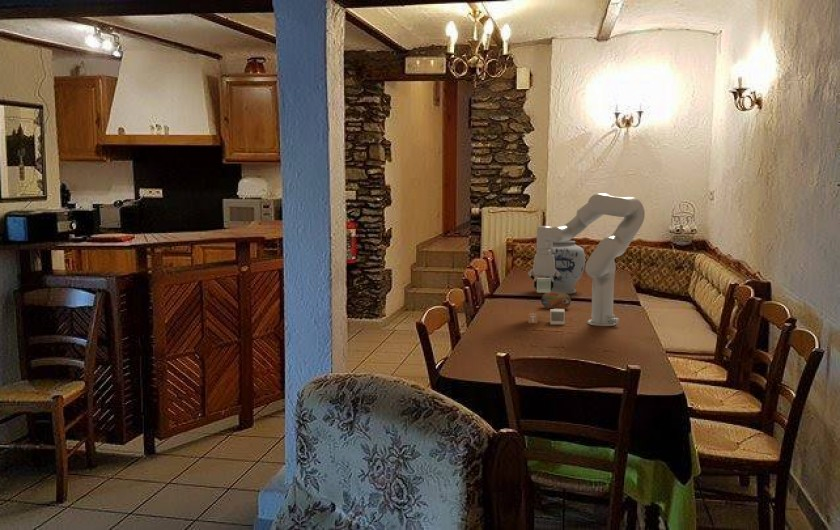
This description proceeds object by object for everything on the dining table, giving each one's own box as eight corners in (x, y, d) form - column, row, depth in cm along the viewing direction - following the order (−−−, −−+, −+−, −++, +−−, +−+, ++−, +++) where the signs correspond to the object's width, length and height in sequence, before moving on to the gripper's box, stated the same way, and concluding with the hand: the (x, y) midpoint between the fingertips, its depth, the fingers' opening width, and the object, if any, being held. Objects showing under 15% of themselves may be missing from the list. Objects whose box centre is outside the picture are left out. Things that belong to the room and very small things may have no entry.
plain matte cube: (550, 290, 355) (550, 278, 354) (550, 292, 348) (550, 280, 348) (536, 290, 356) (537, 277, 355) (536, 292, 350) (536, 279, 349)
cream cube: (564, 321, 343) (564, 309, 342) (564, 324, 336) (564, 311, 336) (550, 321, 344) (550, 308, 343) (550, 324, 337) (550, 311, 337)
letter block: (537, 321, 344) (537, 313, 343) (537, 323, 340) (537, 314, 339) (528, 321, 344) (528, 312, 344) (528, 323, 340) (528, 314, 340)
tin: (540, 307, 379) (541, 291, 378) (542, 306, 382) (543, 290, 381) (569, 310, 372) (569, 293, 371) (571, 309, 375) (571, 292, 374)
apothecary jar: (530, 289, 440) (530, 239, 436) (570, 287, 448) (570, 238, 444) (551, 296, 414) (552, 243, 411) (593, 293, 422) (594, 241, 419)
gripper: (562, 251, 352) (562, 288, 354) (526, 250, 355) (525, 287, 357) (563, 253, 345) (562, 291, 347) (525, 252, 348) (525, 290, 350)
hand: (543, 289), depth 352 cm, fingers closed on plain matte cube, 6 cm apart
